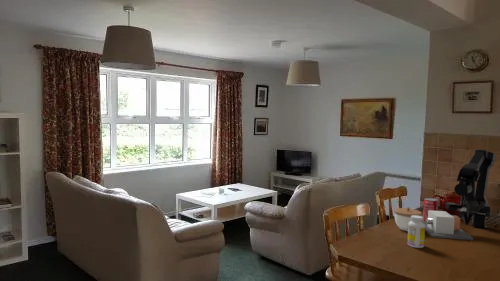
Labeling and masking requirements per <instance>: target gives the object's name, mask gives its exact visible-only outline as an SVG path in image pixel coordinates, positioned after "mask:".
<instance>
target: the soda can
mask: <svg viewBox="0 0 500 281" xmlns="http://www.w3.org/2000/svg"><path fill="white" fill-rule="evenodd" d="M428 210H431V211H439V202H438V199H436V198H431V197H425V198H424V200H423V203H422V217H423V221H422V223H424V224H427V222H426V220H427V218H428Z"/></svg>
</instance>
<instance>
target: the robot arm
mask: <svg viewBox="0 0 500 281" xmlns="http://www.w3.org/2000/svg"><path fill="white" fill-rule="evenodd" d="M496 161H497V155H496V153H495V152H493V151H492V152H491V151H488V150H487V149H475V151H474V154H473V156H472V157H471V159H470V160H469V162H468V163H466V164H464V165H463V166H462V167H461V168H460V169H459V172H458V175H457V178H456V182H459V183H457V184H456V185H454V193H455V194H456V195H457V196H460V201H459V204H456V203H455V202H450V201H449V202H448V201H447V202H445V204H444V208H445V209H446V210H448V211H454V212H455V211H458V212H459V213H460V216H461V217H462V220H463V224H464V225H465V226H468V225H470V226H472V227H473V228H479V229H489V227H488V226H486V218H490V217H491V213H492V208H491V206H489V202H488V198H487V197H486V194H487V188H488V181H489V174H490V169H492V168H493V167H494V165H495V162H496ZM471 219H472V221H470V220H471Z"/></svg>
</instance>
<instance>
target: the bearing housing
mask: <svg viewBox="0 0 500 281" xmlns="http://www.w3.org/2000/svg"><path fill="white" fill-rule="evenodd" d="M428 218H433V224H425V223H424V224H425V233H427V234H428V236H430V237H431V238H435V239H436V238H437V239H449V240H450V239H452V240H454V239H455V240H465V241H474V237H472V236H471V235H470V234H469V233H467V232H466V231H464V230H463V229H461V228H460V231H459V230H454V219H455V218H454V217H453V216H451V214H450V213H448V212H447V211H444V210H438V211H431V210H428Z"/></svg>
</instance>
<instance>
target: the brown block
mask: <svg viewBox="0 0 500 281" xmlns="http://www.w3.org/2000/svg"><path fill="white" fill-rule="evenodd" d="M450 215H451V214H450ZM451 216H453V217H454V218H455V219H454V230H459V231H460V229H461V217H459V216H458V215H451ZM426 222H427V224H433V218H427V220H426Z"/></svg>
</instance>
